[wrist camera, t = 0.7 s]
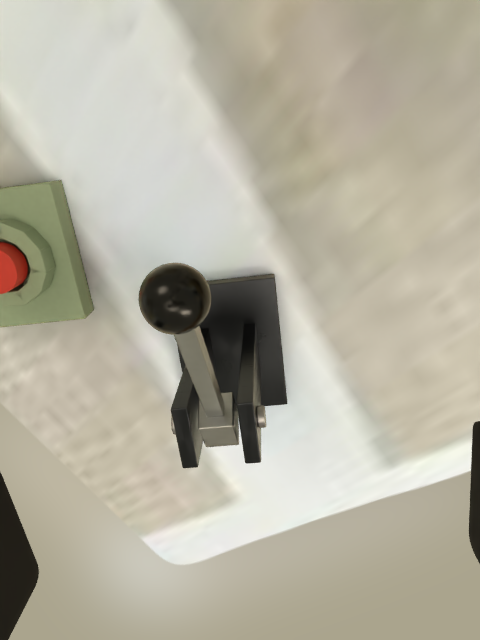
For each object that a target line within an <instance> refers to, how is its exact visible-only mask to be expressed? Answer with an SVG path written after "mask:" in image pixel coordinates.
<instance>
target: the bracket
mask: <svg viewBox="0 0 480 640" xmlns="http://www.w3.org/2000/svg"><path fill="white" fill-rule="evenodd" d="M207 283H208V285H209V288H210V291H211V306H210V310H209V313H208V315H207V317H206V318H205V320H204V321H203V322H202V323H201V324H200V325H199V326H200V329H201V333H202V336H203V339H204V342H205V345H206V348H207V351H208V354H209V357H210V360H211V364H212V367H213V370H214V373H215V376H216V379H217V382H218V385H219V388H220V392H221V393H228V392H232V393H233V396H234V399H235V403H236V406H237V410H238V417H239V423H240V430H241V437H242V444H243V451H244V458H245V463H259V462H261V428H264V427H266V414H265V407H264V406H270V405H282V404H287V396H286V386H285V376H284V366H283V356H282V346H281V336H280V326H279V316H278V306H277V296H276V285H275V276H274V274H269V275H259V276H250V277H241V278H231V279H222V280H213V281H207ZM177 346H178V344H177ZM178 351H179V356H180V362H181V367H182V372H183V374H182V377H181V380H180V383H179V386H178V389H177V392H176V395H175V398H174V401H173V404H172V407H171V413H172V419H171V425H172V431H173V434H175V435H176V437H177V442H178V447H179V452H180V457H181V462H182V466H183V468H193V467H198V464H199V459H200V454H201V448H202V443H203V439H202V437H201V434H200V432H199V430H198V411H199V397H198V394H197V392H196V389H195V387H194V384H193V382H192V379H191V377H190V374H189V372H188V369H187V367H186V364H185V362H184V359H183V357H182V354H181V352H180V349H179V347H178Z"/></svg>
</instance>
